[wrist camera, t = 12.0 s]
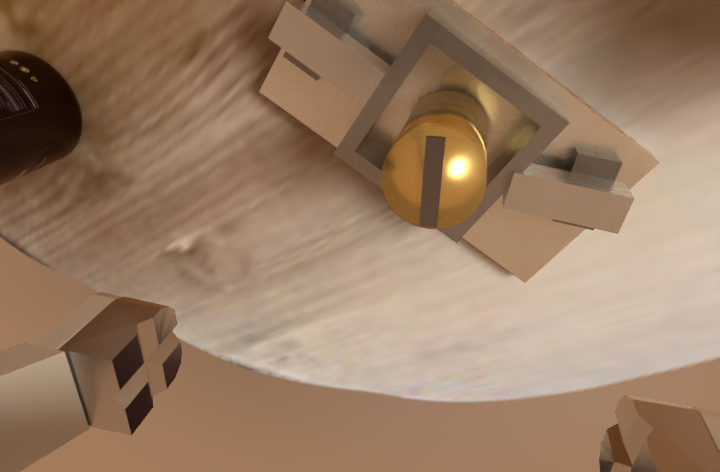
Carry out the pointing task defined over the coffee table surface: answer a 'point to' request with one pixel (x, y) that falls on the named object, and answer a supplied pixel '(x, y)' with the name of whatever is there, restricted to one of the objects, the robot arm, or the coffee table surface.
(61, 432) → the robot arm
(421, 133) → the cylinder
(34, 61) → the supplement bottle
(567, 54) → the coffee table surface
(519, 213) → the shaft rig
